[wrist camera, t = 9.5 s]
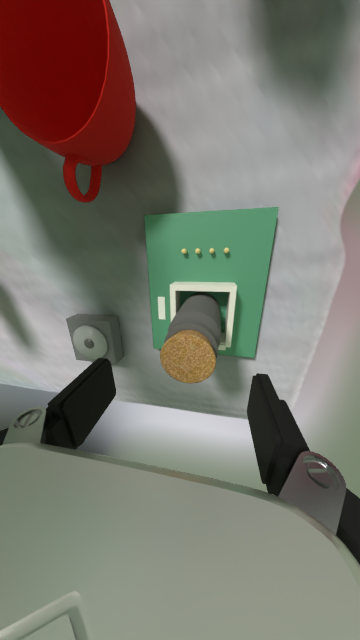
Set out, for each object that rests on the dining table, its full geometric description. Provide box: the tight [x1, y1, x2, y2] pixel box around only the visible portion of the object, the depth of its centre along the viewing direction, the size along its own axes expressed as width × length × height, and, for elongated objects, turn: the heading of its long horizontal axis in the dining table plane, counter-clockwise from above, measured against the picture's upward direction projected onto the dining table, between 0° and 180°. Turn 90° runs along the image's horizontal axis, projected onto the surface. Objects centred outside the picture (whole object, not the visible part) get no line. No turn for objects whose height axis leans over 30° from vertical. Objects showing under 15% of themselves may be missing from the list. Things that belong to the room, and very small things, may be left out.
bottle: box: [160, 292, 221, 383], centre depth 21 cm, size 6×6×15 cm
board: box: [144, 207, 279, 358], centre depth 25 cm, size 22×18×6 cm
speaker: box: [66, 314, 123, 364], centre depth 34 cm, size 9×9×4 cm
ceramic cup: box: [0, 0, 136, 203], centre depth 19 cm, size 13×17×10 cm
